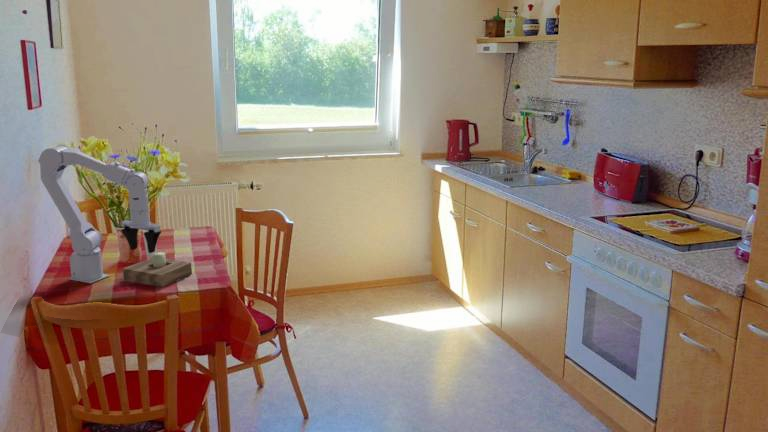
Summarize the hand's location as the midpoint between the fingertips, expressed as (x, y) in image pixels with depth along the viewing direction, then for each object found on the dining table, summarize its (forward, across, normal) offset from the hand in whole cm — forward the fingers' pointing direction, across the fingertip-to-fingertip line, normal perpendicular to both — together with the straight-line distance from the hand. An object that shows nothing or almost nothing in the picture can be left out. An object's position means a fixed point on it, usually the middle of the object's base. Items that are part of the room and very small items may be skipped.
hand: (142, 250), depth 208 cm
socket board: (+9, +4, +2) cm, 10 cm away
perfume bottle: (+9, -7, +11) cm, 16 cm away
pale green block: (+8, +4, +3) cm, 9 cm away
